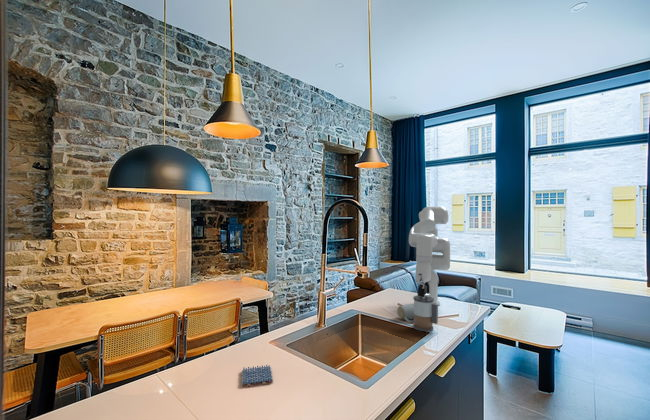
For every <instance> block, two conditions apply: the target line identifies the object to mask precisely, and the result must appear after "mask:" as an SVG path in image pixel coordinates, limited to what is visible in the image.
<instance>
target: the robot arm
mask: <svg viewBox="0 0 650 420" xmlns="http://www.w3.org/2000/svg"><path fill="white" fill-rule="evenodd" d="M418 219H419V222H417V223H415V224H414V225H413V226H412V227H411V228H410V231H409V234H408V244H409V245H410V247H413V248H416V249H415V250H416V254H415V255H416V256H415V257H416V258H415V260H416V261H415V262H416V266H415V275H414V276H415V278H414V280H415V282H416V284H417V293H418V296H421V297H424V296H425V289H424V285H427V293H430V296H429V297H432V298H434V302H433V303H434V304H438V307H439V306H440V305H441V302H440V301H439V300H438V298H439V297H438V294H439V293H438V288H439V287H438V284H439V283H438V282H439V279H438V278H439V277H438V275H437V273H436V271H437V270H438V271H448V270H449V269H450V267H451V243H450V240H449V239H448V238H446V237H439V236H438V231H439V230H438V228H437V226H436V225H446V224H448V222H449V211H448V209H447V208H446V207H445V206H426V207H424V208H422V210H421V211H419V213H418ZM435 253H441V254H435ZM435 270H436V271H435Z"/></svg>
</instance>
